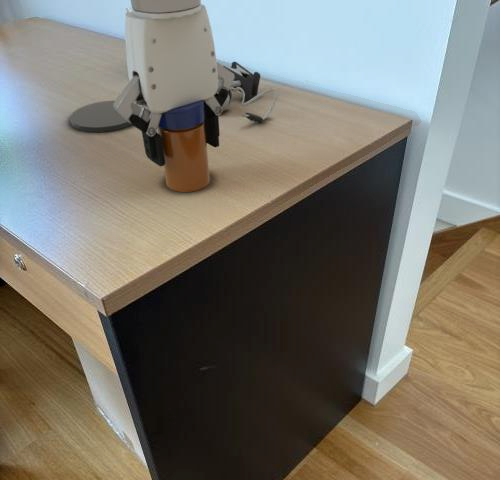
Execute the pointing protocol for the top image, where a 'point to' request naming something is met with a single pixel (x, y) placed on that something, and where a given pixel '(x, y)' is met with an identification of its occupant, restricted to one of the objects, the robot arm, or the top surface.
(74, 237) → the top surface
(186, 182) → the jar
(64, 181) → the top surface
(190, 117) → the jar lid
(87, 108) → the coaster
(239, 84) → the clip-on lamp
